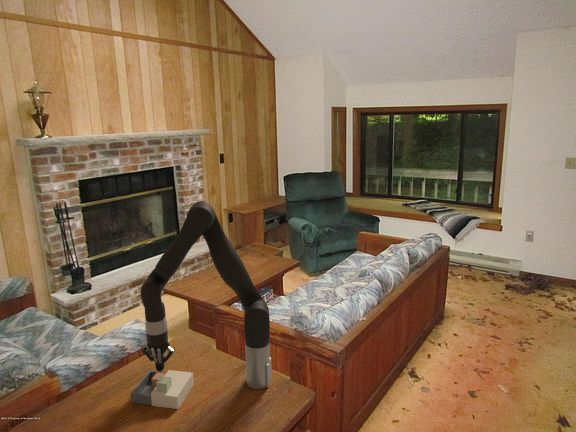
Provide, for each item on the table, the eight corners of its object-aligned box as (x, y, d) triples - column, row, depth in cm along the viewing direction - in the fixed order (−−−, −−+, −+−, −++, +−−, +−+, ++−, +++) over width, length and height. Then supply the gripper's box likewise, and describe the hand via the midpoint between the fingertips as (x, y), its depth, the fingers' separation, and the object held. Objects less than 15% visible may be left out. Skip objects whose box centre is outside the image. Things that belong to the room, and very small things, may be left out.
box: (169, 381, 163) (168, 372, 162) (151, 405, 150) (150, 396, 149) (150, 379, 165) (149, 370, 164) (131, 403, 151) (130, 393, 150)
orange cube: (165, 373, 161) (156, 372, 162) (160, 379, 157) (151, 378, 158) (166, 382, 162) (157, 381, 163) (161, 389, 158) (152, 388, 159)
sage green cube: (172, 385, 153) (171, 377, 152) (167, 392, 149) (166, 384, 148) (161, 384, 154) (161, 375, 153) (156, 391, 150) (155, 382, 149)
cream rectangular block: (193, 384, 162) (193, 372, 160) (178, 409, 148) (177, 396, 147) (169, 381, 163) (168, 370, 162) (151, 405, 150) (150, 393, 149)
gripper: (178, 325, 156) (181, 366, 161) (145, 322, 159) (149, 362, 163) (168, 336, 149) (172, 378, 154) (134, 332, 152) (139, 374, 156)
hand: (160, 370), depth 158 cm, fingers closed
